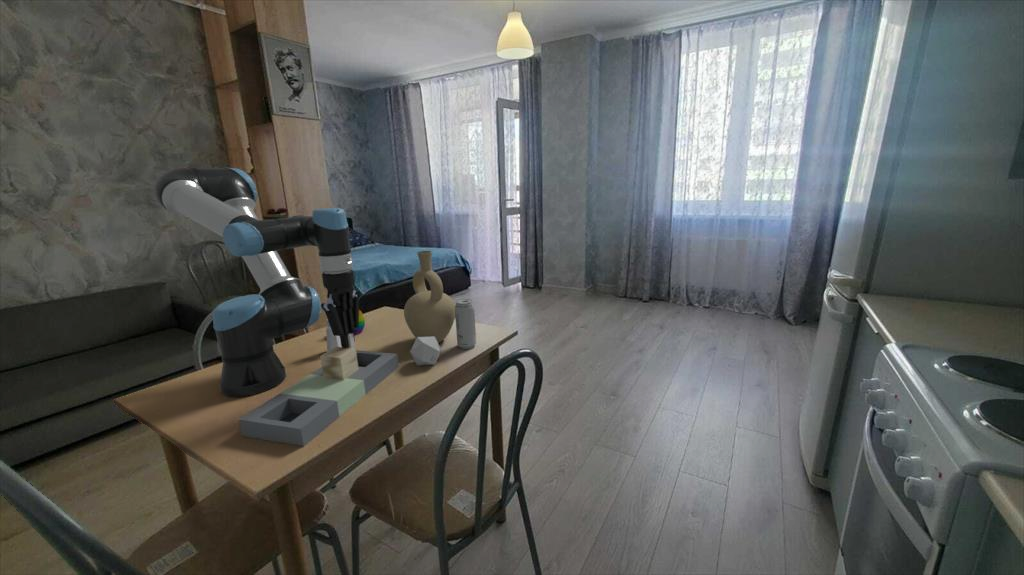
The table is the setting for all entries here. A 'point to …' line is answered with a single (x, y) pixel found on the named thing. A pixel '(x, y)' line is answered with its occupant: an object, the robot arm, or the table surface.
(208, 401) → the table surface
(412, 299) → the vase
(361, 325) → the decorative egg
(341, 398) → the board
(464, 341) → the energy drink can
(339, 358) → the birch block
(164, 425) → the table surface
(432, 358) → the die
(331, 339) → the pepper shaker
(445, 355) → the table surface
